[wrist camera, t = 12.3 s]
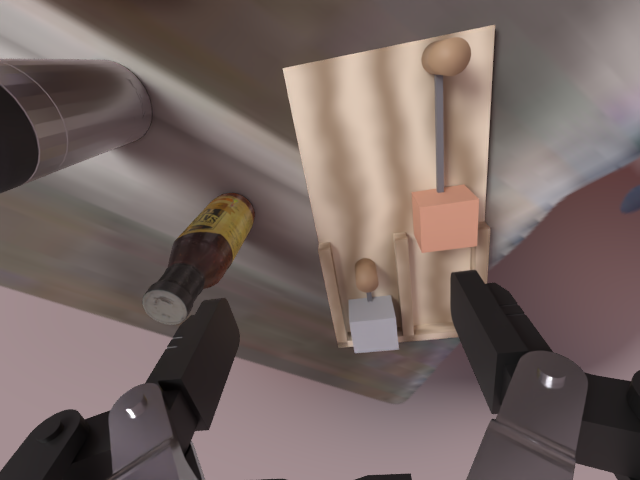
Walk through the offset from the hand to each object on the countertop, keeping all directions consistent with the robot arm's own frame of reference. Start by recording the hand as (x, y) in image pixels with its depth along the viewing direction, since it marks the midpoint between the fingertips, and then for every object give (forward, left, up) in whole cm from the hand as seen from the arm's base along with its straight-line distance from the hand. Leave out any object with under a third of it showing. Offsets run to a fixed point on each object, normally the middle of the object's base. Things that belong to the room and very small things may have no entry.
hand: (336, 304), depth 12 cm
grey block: (+1, -24, -31) cm, 39 cm away
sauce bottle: (-16, -8, -32) cm, 37 cm away
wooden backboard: (+6, -12, -32) cm, 35 cm away
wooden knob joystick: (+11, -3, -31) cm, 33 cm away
